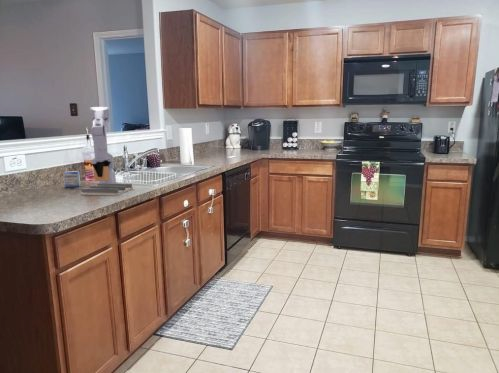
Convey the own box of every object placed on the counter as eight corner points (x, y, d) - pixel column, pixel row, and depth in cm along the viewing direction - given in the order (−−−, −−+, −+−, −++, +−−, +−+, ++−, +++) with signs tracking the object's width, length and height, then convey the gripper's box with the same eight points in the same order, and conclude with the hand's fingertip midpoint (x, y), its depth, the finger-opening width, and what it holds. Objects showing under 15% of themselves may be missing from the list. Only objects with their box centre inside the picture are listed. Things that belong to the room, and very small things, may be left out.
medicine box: (64, 187, 215) (62, 172, 214) (66, 186, 220) (64, 171, 218) (79, 186, 217) (78, 171, 216) (80, 185, 222) (79, 170, 220)
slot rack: (99, 188, 212) (99, 182, 211) (133, 188, 208) (132, 183, 207) (80, 194, 195) (80, 188, 195) (116, 195, 191) (116, 189, 191)
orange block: (99, 179, 199) (97, 166, 198) (109, 179, 198) (108, 166, 197) (94, 180, 196) (93, 167, 194) (105, 180, 194) (103, 167, 193)
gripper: (101, 148, 202) (103, 173, 204) (84, 150, 188) (87, 178, 190) (113, 148, 200) (115, 174, 203) (97, 150, 186) (100, 178, 189)
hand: (102, 176), depth 196 cm, fingers closed on orange block, 4 cm apart
